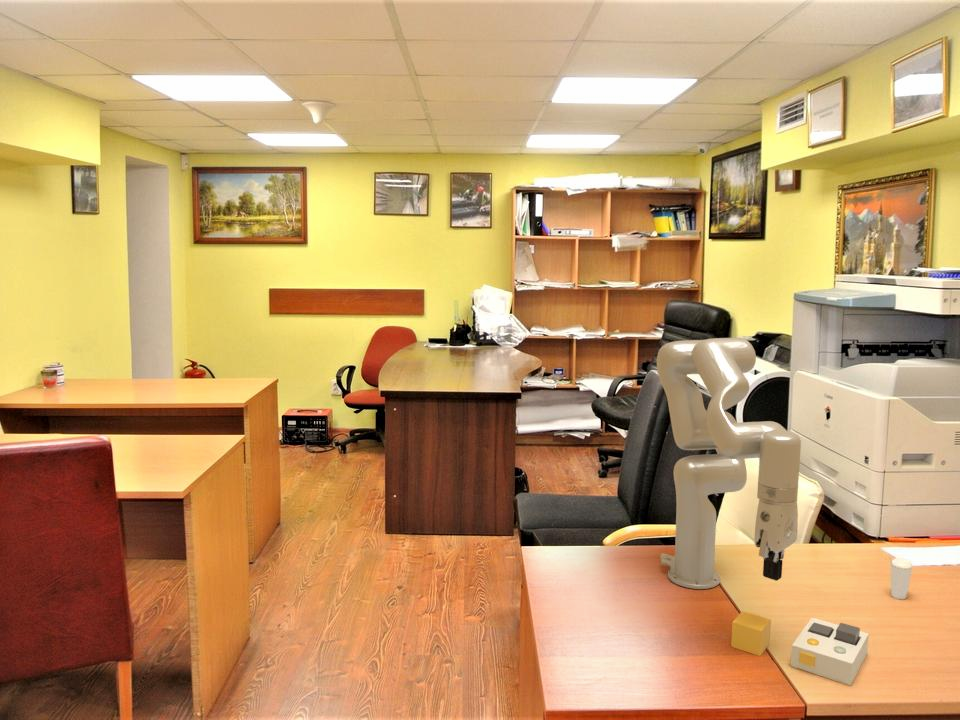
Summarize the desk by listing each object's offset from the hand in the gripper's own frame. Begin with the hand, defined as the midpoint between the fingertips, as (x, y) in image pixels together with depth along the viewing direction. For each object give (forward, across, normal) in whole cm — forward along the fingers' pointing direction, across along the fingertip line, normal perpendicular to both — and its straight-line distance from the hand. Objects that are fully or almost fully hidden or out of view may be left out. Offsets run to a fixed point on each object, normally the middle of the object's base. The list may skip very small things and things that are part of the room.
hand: (772, 577), depth 156 cm
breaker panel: (+15, +4, -11) cm, 19 cm away
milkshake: (+16, +43, -11) cm, 47 cm away
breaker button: (+13, +7, -13) cm, 19 cm away
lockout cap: (+15, -2, +3) cm, 16 cm away
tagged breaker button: (+14, +6, -8) cm, 18 cm away
